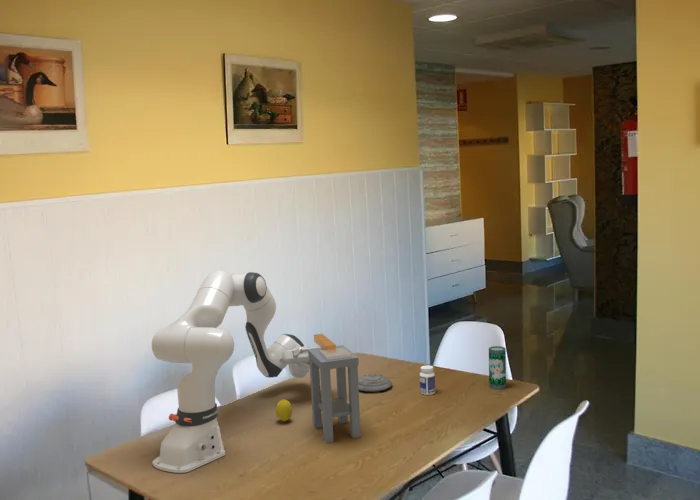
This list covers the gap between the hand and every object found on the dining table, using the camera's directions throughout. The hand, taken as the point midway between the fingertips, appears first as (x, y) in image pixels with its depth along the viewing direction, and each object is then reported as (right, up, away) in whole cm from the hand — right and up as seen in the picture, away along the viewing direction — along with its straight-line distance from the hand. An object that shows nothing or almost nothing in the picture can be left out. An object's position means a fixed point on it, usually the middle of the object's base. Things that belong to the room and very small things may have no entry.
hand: (313, 348), depth 237 cm
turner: (+6, +2, -18) cm, 19 cm away
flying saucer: (+22, -19, +22) cm, 36 cm away
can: (+69, -17, +16) cm, 73 cm away
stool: (+8, -24, -20) cm, 32 cm away
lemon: (-9, -24, -10) cm, 27 cm away
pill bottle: (+42, -19, +13) cm, 48 cm away
